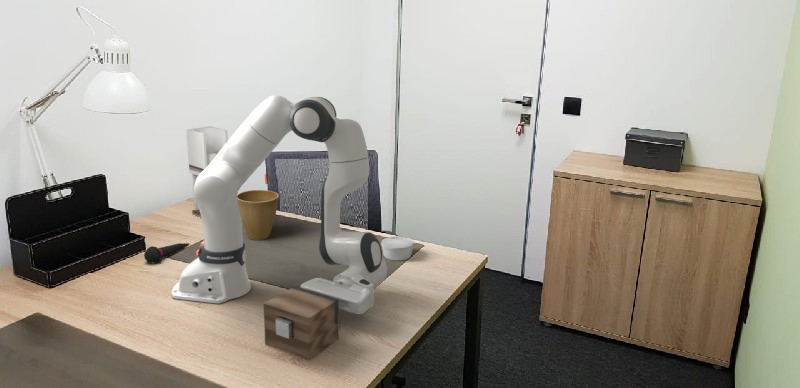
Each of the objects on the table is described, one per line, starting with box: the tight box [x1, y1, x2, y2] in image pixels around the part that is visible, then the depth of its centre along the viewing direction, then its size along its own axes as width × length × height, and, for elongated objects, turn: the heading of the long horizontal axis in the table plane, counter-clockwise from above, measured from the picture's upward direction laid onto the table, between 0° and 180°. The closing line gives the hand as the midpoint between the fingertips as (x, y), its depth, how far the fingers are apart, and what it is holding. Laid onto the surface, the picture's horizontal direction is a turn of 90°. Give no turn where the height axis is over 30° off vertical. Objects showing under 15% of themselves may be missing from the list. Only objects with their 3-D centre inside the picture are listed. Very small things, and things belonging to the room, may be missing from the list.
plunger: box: [276, 317, 294, 339], centre depth 155 cm, size 14×4×4 cm, turn 150°
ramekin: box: [380, 236, 415, 262], centre depth 213 cm, size 11×11×5 cm
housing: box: [263, 285, 339, 361], centre depth 156 cm, size 12×14×11 cm
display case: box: [185, 126, 229, 219], centre depth 245 cm, size 11×11×35 cm
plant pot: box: [237, 189, 279, 241], centre depth 226 cm, size 15×15×16 cm
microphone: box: [143, 242, 190, 264], centre depth 209 cm, size 6×6×20 cm
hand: (317, 306), depth 161 cm, fingers closed, pressing on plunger
